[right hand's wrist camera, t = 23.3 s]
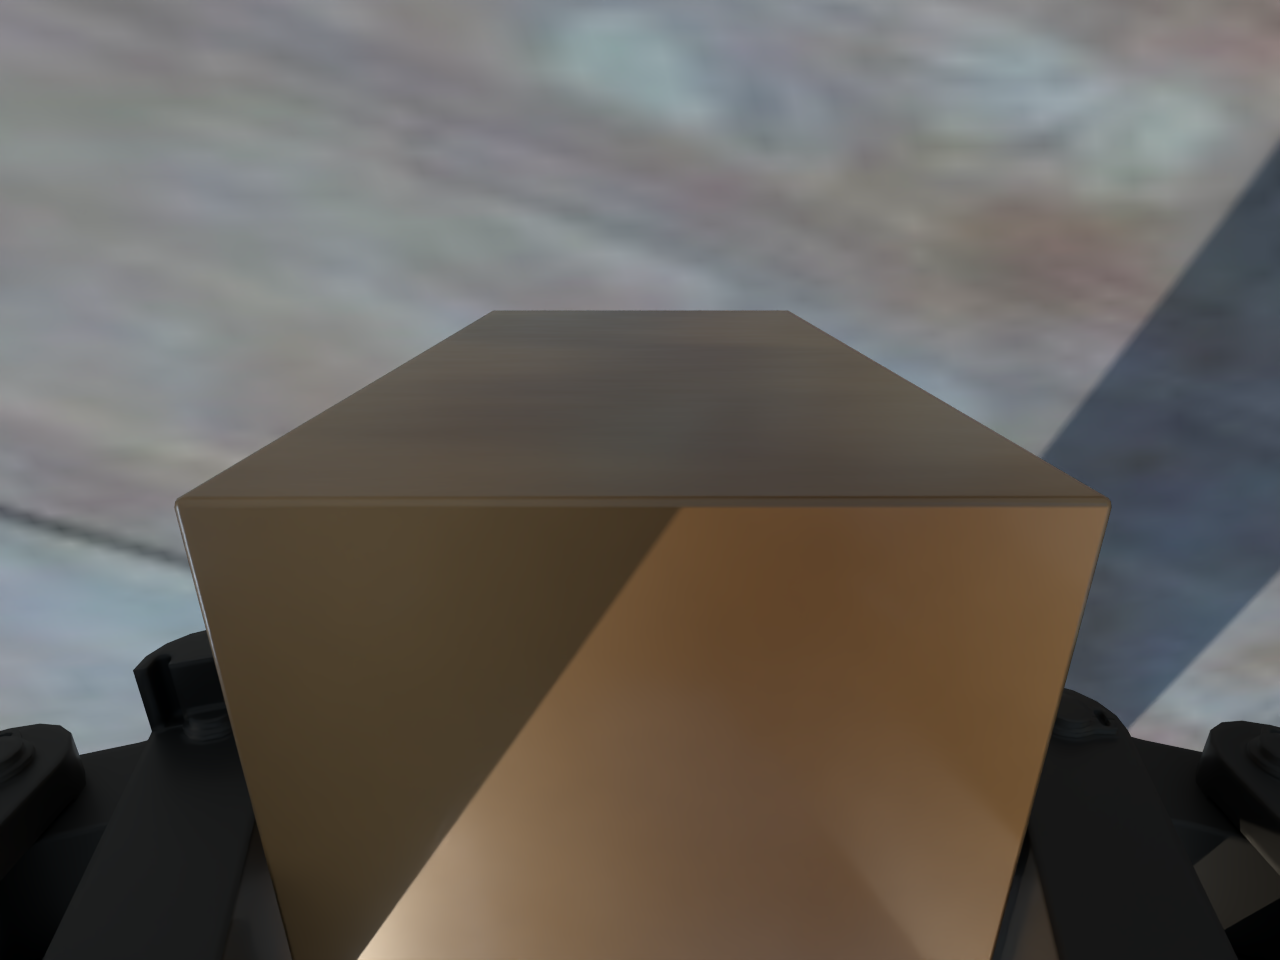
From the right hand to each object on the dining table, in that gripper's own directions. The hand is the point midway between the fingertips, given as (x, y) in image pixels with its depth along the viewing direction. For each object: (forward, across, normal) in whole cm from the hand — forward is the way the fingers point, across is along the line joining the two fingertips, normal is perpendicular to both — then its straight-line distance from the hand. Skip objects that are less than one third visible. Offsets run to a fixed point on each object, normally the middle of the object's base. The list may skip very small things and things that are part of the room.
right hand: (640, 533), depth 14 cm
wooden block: (+2, 0, 0) cm, 2 cm away
